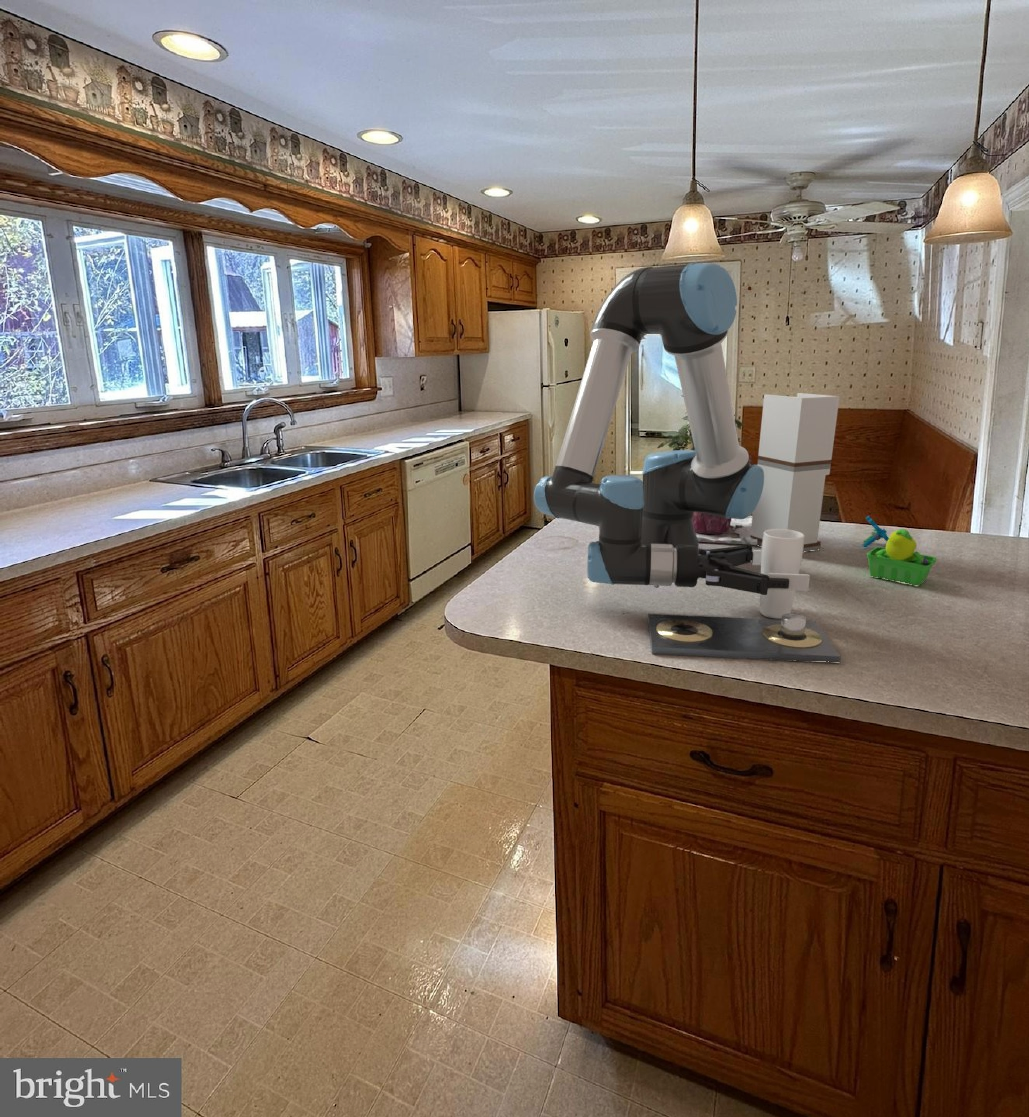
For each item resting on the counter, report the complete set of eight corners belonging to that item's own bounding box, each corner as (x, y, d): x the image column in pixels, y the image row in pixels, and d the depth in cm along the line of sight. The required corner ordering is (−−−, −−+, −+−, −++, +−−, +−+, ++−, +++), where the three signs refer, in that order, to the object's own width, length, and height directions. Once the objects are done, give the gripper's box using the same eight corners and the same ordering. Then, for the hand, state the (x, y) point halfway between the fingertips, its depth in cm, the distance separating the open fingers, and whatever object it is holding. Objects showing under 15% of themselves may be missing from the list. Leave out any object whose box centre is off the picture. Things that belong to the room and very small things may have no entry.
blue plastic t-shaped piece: (903, 549, 159) (872, 515, 160) (880, 566, 161) (850, 532, 162) (897, 543, 169) (868, 511, 170) (875, 559, 171) (846, 527, 172)
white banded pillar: (819, 550, 164) (839, 396, 154) (784, 555, 160) (802, 398, 150) (784, 538, 174) (800, 393, 164) (749, 543, 170) (764, 394, 160)
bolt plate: (814, 627, 120) (818, 603, 119) (839, 663, 107) (843, 636, 106) (647, 620, 124) (649, 596, 123) (651, 653, 111) (653, 627, 109)
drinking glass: (794, 610, 128) (804, 530, 124) (795, 623, 122) (805, 540, 118) (755, 605, 130) (763, 527, 126) (754, 619, 124) (762, 536, 120)
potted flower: (754, 520, 190) (764, 386, 179) (757, 544, 167) (769, 393, 157) (653, 515, 197) (658, 386, 187) (643, 538, 174) (648, 393, 164)
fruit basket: (933, 581, 143) (943, 527, 140) (921, 592, 137) (931, 536, 134) (873, 569, 151) (881, 517, 147) (859, 579, 145) (867, 525, 141)
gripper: (668, 564, 139) (780, 568, 136) (678, 610, 115) (814, 616, 113) (670, 527, 137) (784, 530, 134) (681, 566, 113) (820, 571, 110)
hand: (798, 570), depth 123 cm, fingers open, 13 cm apart
